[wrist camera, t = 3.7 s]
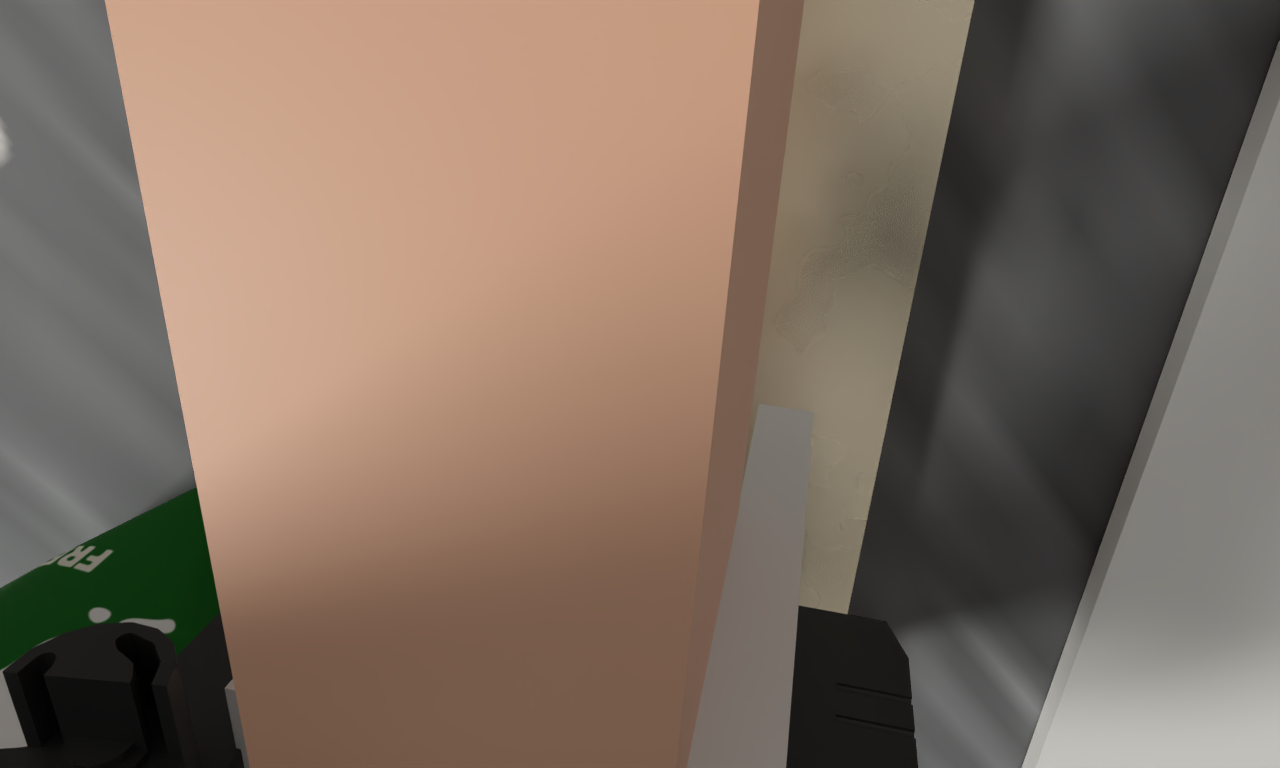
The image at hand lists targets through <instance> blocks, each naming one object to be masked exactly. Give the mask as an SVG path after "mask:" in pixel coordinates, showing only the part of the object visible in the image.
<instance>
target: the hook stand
mask: <svg viewBox="0 0 1280 768" xmlns="http://www.w3.org/2000/svg"><path fill="white" fill-rule="evenodd" d="M974 1H975V0H804V8H803V15H802V23H801V31H800V39H799V46H798V54H797V62H796V70H795V77H794V85H793V93H792V101H791V108H790V116H789V124H788V131H787V139H786V147H785V155H784V162H783V170H782V178H781V186H780V193H779V201H778V209H777V217H776V224H775V232H774V240H773V248H772V255H771V263H770V271H769V279H768V286H767V294H766V302H765V310H764V317H763V325H762V333H761V341H760V348H759V356H758V364H757V372H756V379H755V387H754V395H753V403H752V410H751V418H750V426H749V434H748V441H747V449H746V457H745V465H744V472H743V480H744V475H745V470H746V465H747V460H748V456H749V451H750V446H751V441H752V436H753V431H754V426H755V421H756V416H757V412H758V407H759V404H764V405H770V406H777V407H784V408H791V409H798V410H804V411H811V412H814V413H813V426H812V439H811V452H810V465H809V478H808V491H807V504H806V516H805V529H804V542H803V555H802V568H801V581H800V594H799V606H805V607H810V608H816V609H821V610H827V611H832V612H837V613H843V614H848V609H849V604H850V599H851V595H852V590H853V585H854V580H855V575H856V570H857V566H858V561H859V556H860V551H861V546H862V541H863V537H864V532H865V527H866V522H867V517H868V512H869V508H870V503H871V498H872V493H873V488H874V484H875V479H876V474H877V469H878V464H879V459H880V455H881V450H882V445H883V440H884V435H885V430H886V426H887V421H888V416H889V411H890V406H891V402H892V397H893V392H894V387H895V382H896V377H897V373H898V368H899V363H900V358H901V353H902V348H903V344H904V339H905V334H906V329H907V324H908V319H909V315H910V310H911V305H912V300H913V295H914V291H915V286H916V281H917V276H918V271H919V266H920V262H921V257H922V252H923V247H924V242H925V237H926V233H927V228H928V223H929V218H930V213H931V209H932V204H933V199H934V194H935V189H936V184H937V180H938V175H939V170H940V165H941V160H942V155H943V151H944V146H945V141H946V136H947V131H948V126H949V122H950V117H951V112H952V107H953V102H954V98H955V93H956V88H957V83H958V78H959V73H960V69H961V64H962V59H963V54H964V49H965V44H966V40H967V35H968V30H969V25H970V20H971V16H972V11H973V6H974ZM743 480H742V485H743ZM741 490H742V488H741Z"/></svg>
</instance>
